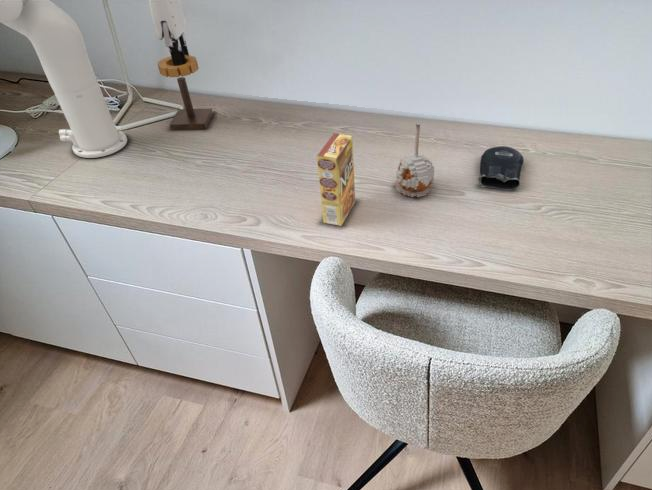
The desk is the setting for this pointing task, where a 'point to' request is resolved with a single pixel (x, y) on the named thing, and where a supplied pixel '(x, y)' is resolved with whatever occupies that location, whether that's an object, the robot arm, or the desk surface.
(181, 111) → the stand
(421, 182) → the caramel apple
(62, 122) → the desk surface
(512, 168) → the electronic device
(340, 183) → the candy box
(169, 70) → the ring
